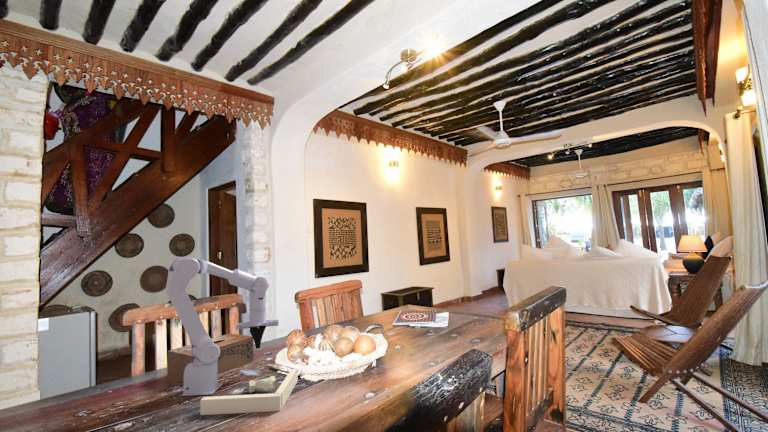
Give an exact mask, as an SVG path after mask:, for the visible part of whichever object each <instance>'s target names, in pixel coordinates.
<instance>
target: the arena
mask: <svg viewBox="0 0 768 432" xmlns="http://www.w3.org/2000/svg"><path fill="white" fill-rule="evenodd" d="M298 379H299V377H298V368H292V369H290V371H289V372H288V373H287V375H286V376H285V378H284V379H283V381H282V382H281V384H280V385H279V387H278V388H277V390H276V391H275V393H274V392H272V393H270V394H269V393H254V394H253V393H250V394H238V395H236V394H234V395H216V396H203V397H202V398H201V399H200V400H199V401H200V402H199V403H200V404H199V405H200V410H199V411H200V416H206V415H208V416H210V415H229V414H244V413H245V414H248V413H262V412H263V413H264V412H267V413H268V412H281V410H282V409H283V407H284V406H285V404H286V402H287V400H288V398H289V396H290V395H291V393H292V391H293V390H294V388H295V387H296V385H297V383H298V382H299V380H298Z"/></svg>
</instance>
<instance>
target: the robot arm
mask: <svg viewBox="0 0 768 432" xmlns="http://www.w3.org/2000/svg"><path fill="white" fill-rule="evenodd" d="M167 271H168V272H167V279H166V283H165V284H166V285H165V293H166V295H167V296H168V298H169V300H170V302H171V305H172V306H173V308H174V310H175V312H176V314H177V317H178V318H179V320H180V322H181V324H182V326H183V329H184V330H185V332H186V335H188V339H189V345H191V347H192V348H191V353H192V355H193V356H194V357H195V359H194V361H193V363H189V364H188V365H187V366H186V368H185V370H184V383H183V391H182V394H181V396H182V397H188V396H204V395H205V396H206V395H210V396H211V395H213V394H214V393H215V392H217V390H219V389H220V388H221V387H222V386H223V385H224V384H223V382H219V375H218V357H219V355H220V348H219V346H218V345H217V344H215V343H214V342H213V341H212V338H211V337H210V335H209V334H208V333H207V331H206V329H205V327H204V325H203V322H202V321H201V318H200V317H199V314H198V313H197V310H196V308H195V307H194V305H193V302H192V300H191V298H190V296H189V294H188V292H187V290H186V289H187V287H188V285H189V283H190V281H191V280H192V279H193V278H194V277H196V276H197V274H200V275H201V274H202V275H203V274H205V273H206V274H210V275H213V276H215V277H216V276H217V277H220V278H223V279H226V280H227V281H228V283H229V285H231V286H235V287H238V288H241V289H244V290H247V292H249V293H248V294H249V296H248V297H249V299H248V300H249V301H248V302H249V304H248V305H249V306H248V307H249V309H248V310H249V311H248V313H249V321H245V322H239V323H238V322H237V323H236V324H235V330H236V331H238V330H244V329H249V330H248V331H249V334H250V336H252V337H253V343H254V346H255V349H261V344H262V339H263V337H264V333H265V331H266V329H267V327H279V325H280V323H279V319H267V296H266V294H267V290H268V289H269V285H270V284H269V282H268V281H267V279H266V278H265V277H262V276H257V274H256V273H251V272H250V273H249V272H248V271H245V269H244V268H235V269H233V270H230V269H228V268H225V267H224V266H220V265H217V264H215V263H213V262H210V261H209V260H208V261H207V260H205V259H200V258H199V259H197V258H195V257H188V256H187V257H184V256H183V257H177V258H176V259H174V260H173V261H172V263H171V264H170V266H169V268H168V269H167Z"/></svg>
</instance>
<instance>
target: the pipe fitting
mask: <svg viewBox="0 0 768 432" xmlns="http://www.w3.org/2000/svg"><path fill="white" fill-rule="evenodd" d="M276 382H277V379H276V376H275V375H271V376H268V377H263V378H260V379H256V380H253V379H252V380H249V381H248V382H247V390H248V394H253V393H257V392H258V393H262V394H271V393H274V391H275V390H276V389H277V384H276Z"/></svg>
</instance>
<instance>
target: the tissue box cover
mask: <svg viewBox="0 0 768 432" xmlns="http://www.w3.org/2000/svg"><path fill="white" fill-rule="evenodd" d="M211 339H212V341H213V342H214V343H215V344H217V345H218V346H219V348H220V355H219V357H218V376H219V375H222V374H224V373H227V372H229V371H231V370H234V369H237V368H239V367H242V366H244V365H247V364H250V363H252V362H254V359H255V358H254V339H253V337H252V335H245V334H239V333H238V334H236V333H227V334H226V333H225V334H223V335H219V336H216V337H212V338H211ZM191 348H192V347H191V344H188V345H184V346H181V347H177V348H173V349H170V350H168V351H167V379H168V380H171V381H175V382H178V383H183V384H184V370H185V368H186V366H187V365H188V364H189V363H193V361H194V359H195V357H194V356H193V355H192V353H191Z"/></svg>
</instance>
